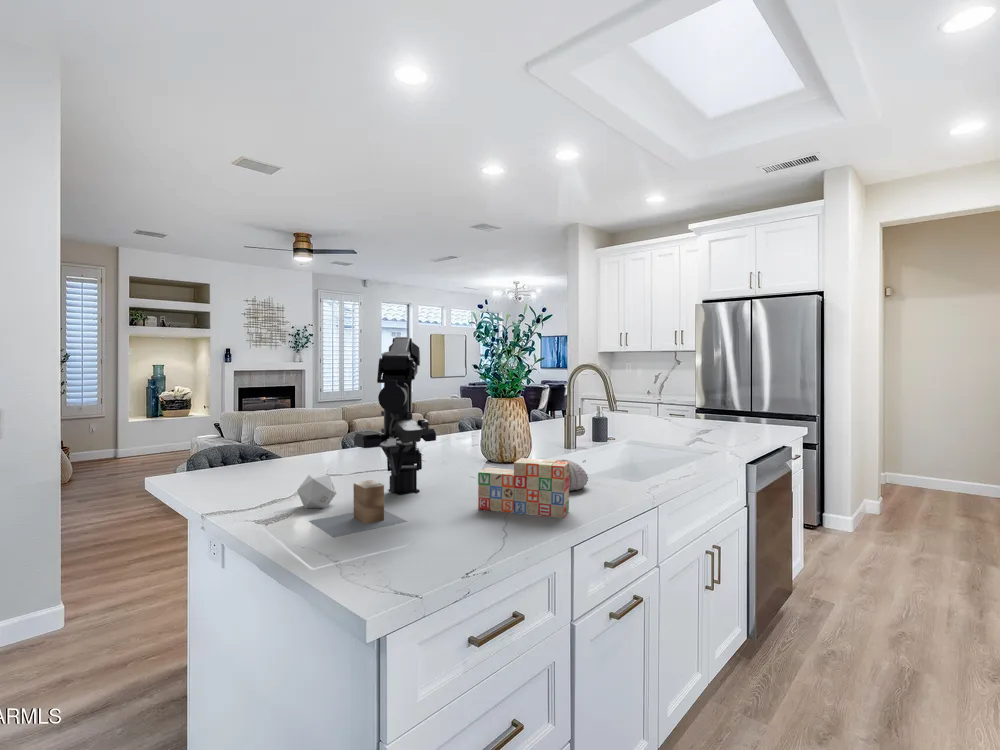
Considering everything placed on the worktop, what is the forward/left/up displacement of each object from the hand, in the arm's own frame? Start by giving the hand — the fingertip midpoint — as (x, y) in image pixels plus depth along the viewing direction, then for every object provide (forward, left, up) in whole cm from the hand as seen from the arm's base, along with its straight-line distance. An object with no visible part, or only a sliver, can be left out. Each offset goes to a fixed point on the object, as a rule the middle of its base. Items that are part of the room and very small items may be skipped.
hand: (396, 473), depth 124 cm
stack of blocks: (-26, +16, -10) cm, 32 cm away
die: (+12, -18, -10) cm, 24 cm away
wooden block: (+7, 0, -9) cm, 12 cm away
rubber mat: (+10, 0, -10) cm, 14 cm away
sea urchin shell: (-50, +6, -10) cm, 51 cm away
